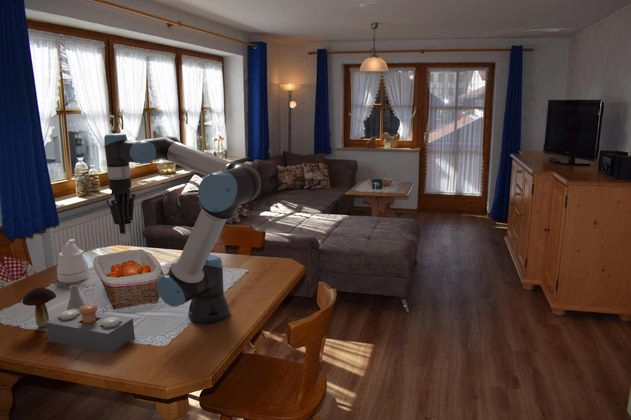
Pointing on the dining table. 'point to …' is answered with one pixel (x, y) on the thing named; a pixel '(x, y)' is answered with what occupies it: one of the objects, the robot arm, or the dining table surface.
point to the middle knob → (88, 313)
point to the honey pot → (72, 264)
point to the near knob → (110, 322)
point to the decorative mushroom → (39, 303)
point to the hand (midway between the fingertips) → (125, 241)
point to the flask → (75, 298)
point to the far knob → (68, 315)
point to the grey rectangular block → (91, 332)
